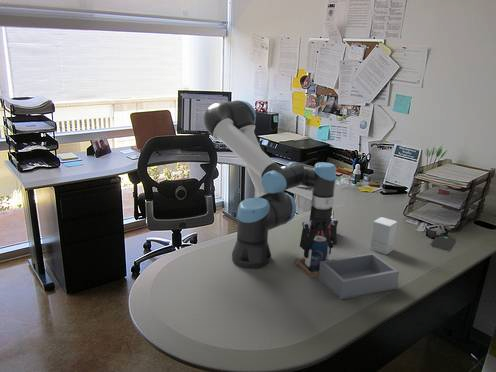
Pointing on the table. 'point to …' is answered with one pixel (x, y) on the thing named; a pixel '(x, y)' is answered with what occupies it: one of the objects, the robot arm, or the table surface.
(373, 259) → the slate gray bin
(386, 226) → the supplement box
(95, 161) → the table surface
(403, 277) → the table surface
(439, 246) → the smartphone
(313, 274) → the walnut rim
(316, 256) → the soda can
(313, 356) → the table surface
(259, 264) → the robot arm
